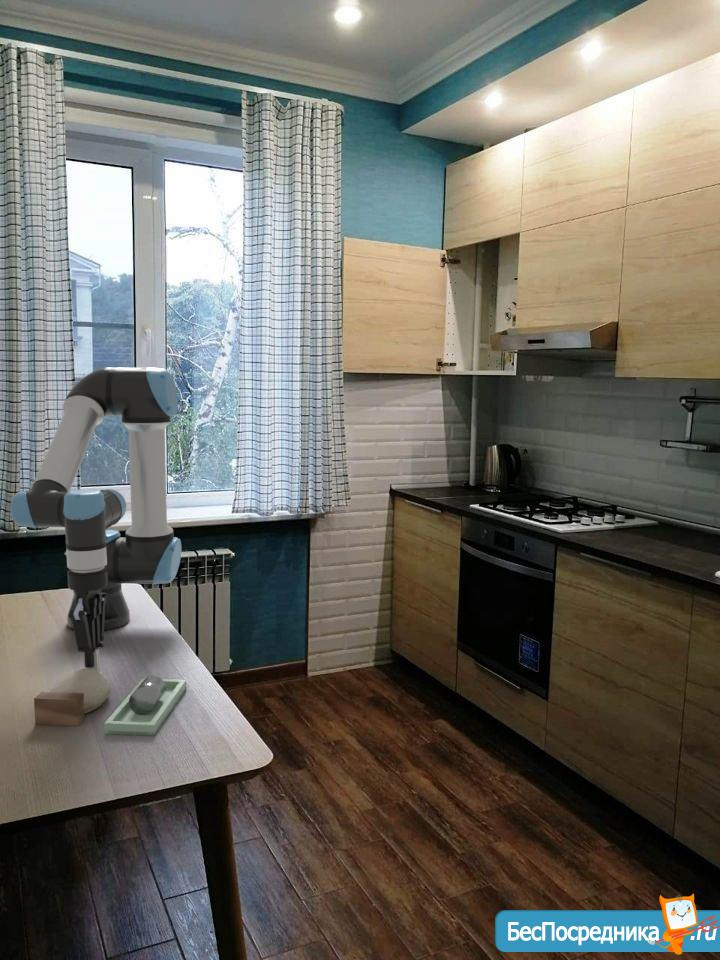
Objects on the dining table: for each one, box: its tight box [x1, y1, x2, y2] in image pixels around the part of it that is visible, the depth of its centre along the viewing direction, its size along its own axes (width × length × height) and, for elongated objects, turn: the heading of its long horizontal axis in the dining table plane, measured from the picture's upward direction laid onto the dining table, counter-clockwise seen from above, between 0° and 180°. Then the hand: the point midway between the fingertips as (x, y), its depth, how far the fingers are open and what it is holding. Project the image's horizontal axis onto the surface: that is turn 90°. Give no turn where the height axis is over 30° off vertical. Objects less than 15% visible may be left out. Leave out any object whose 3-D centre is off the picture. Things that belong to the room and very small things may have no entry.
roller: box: [129, 675, 166, 715], centre depth 147 cm, size 5×7×5 cm
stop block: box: [33, 691, 86, 727], centre depth 142 cm, size 3×8×5 cm, turn 87°
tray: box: [103, 678, 187, 737], centre depth 147 cm, size 20×9×2 cm, turn 176°
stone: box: [49, 668, 112, 714], centre depth 150 cm, size 13×10×8 cm
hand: (92, 680), depth 157 cm, fingers closed
